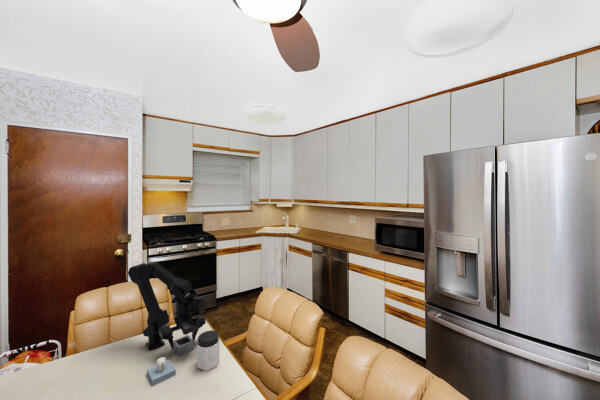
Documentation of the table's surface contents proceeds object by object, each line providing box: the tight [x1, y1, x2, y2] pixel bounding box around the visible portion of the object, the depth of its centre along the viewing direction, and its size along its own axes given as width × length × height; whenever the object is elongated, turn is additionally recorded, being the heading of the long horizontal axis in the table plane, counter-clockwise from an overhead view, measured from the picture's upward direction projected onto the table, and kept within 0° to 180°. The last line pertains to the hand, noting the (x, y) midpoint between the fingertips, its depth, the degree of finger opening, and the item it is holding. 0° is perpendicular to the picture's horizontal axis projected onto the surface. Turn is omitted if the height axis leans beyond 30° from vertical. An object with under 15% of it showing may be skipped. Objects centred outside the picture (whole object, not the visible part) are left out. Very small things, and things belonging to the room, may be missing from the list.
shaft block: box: [146, 356, 177, 386], centre depth 97 cm, size 8×8×6 cm
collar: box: [172, 334, 195, 358], centre depth 112 cm, size 7×7×4 cm
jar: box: [196, 330, 220, 372], centre depth 103 cm, size 9×8×12 cm
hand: (183, 344), depth 112 cm, fingers open, 9 cm apart
